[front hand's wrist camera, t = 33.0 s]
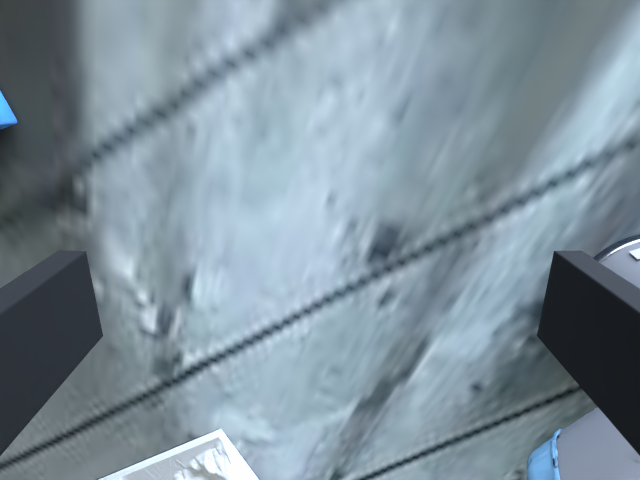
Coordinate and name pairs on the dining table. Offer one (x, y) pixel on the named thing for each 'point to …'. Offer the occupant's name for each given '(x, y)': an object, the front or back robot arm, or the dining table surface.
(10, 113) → the ink box
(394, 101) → the dining table surface
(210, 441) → the relief map
